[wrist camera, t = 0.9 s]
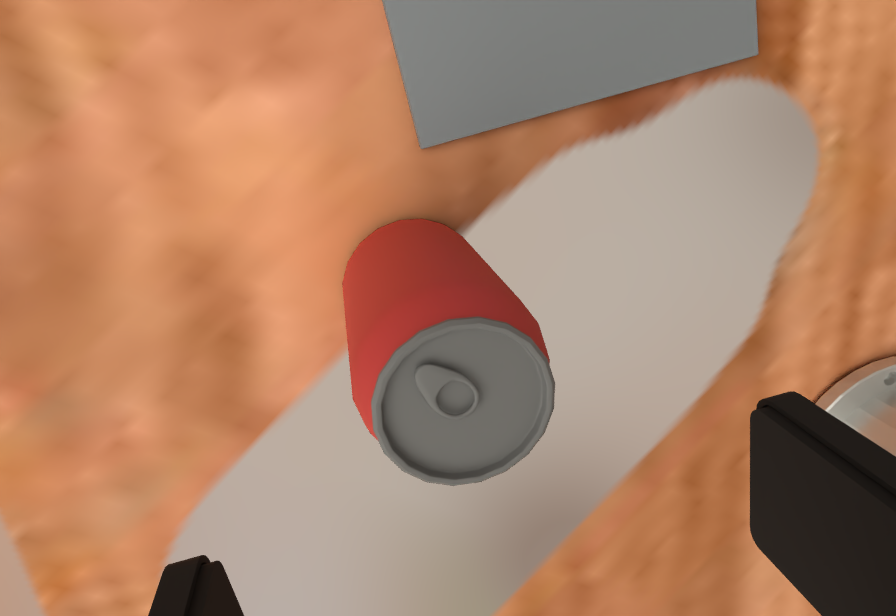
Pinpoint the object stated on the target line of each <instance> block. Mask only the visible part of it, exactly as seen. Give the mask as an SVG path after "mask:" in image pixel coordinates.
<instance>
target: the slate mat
mask: <svg viewBox="0 0 896 616" xmlns="http://www.w3.org/2000/svg"><path fill="white" fill-rule="evenodd" d="M382 2H383V6H384V10H385V14H386V18H387V21H388V25H389V29H390V33H391V37H392V41H393V45H394V49H395V52H396V56H397V60H398V64H399V68H400V72H401V76H402V80H403V84H404V87H405V91H406V95H407V99H408V103H409V107H410V111H411V115H412V118H413V122H414V126H415V130H416V134H417V138H418V142H419V146H420V148H421V149H424V148H427V147H431V146H434V145H438V144H441V143H445V142H449V141H452V140H456V139H459V138H463V137H466V136H470V135H474V134H477V133H481V132H484V131H488V130H491V129H495V128H498V127H502V126H506V125H509V124H513V123H516V122H520V121H523V120H527V119H531V118H534V117H538V116H541V115H545V114H548V113H552V112H556V111H559V110H563V109H566V108H570V107H573V106H577V105H580V104H584V103H588V102H591V101H595V100H598V99H602V98H605V97H609V96H613V95H616V94H620V93H623V92H627V91H630V90H634V89H638V88H641V87H645V86H648V85H652V84H655V83H659V82H662V81H666V80H670V79H673V78H677V77H680V76H684V75H687V74H691V73H695V72H698V71H702V70H705V69H709V68H712V67H716V66H720V65H723V64H727V63H730V62H734V61H737V60H741V59H744V58H748V57H752V56H755V55H758V36H757V13H756V0H382Z"/></svg>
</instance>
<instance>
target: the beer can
mask: <svg viewBox="0 0 896 616" xmlns="http://www.w3.org/2000/svg"><path fill="white" fill-rule="evenodd" d="M342 285H343V296H344V307H345V318H346V329H347V340H348V351H349V362H350V372H351V384H352V395H353V400H354V402H355V404H356V407H357V408H358V411H359V413H360V415H361V417H362V419H363V421H364V423H365V425H366V427H367V428H368V430H369V432H370V433H371V434H372V435H373V436H374V437H375V438H376V439H377V440H378V441H379V443H380V445H381V447H382V450H383V452H384V453H385V454H386V455H387V456H388V457H389V458H390V459H391V460H392V461H393V462H394V463H395V464H396V465H397V466H398V467H399V468H400V469H401V470H402V471H404V472H406V473H408V474H410V475H412V476H414V477H417V478H419V479H421V480H423V481H425V482H429V483H437V484H444V485H451V486H455V485H462V484H469V483H477V482H482V481H484V480H486V479H489V478H491V477H493V476H496V475H498V474H500V473H503V472H505V471H507V470H508V469H510V468H511V467H512V466H513V465H515V464H516V463H517V462H519V461H520V460H521V459H523V458H524V457H525V456H526V455H528V454H529V453H530V451H531V450H532V449H533V447H534V446H535V445H536V443H537V442H538V441H539V439H540V438H541V437H542V435H543V434H544V433H545V430H546V428H547V425H548V422H549V419H550V417H551V414H552V412H553V409H554V393H555V391H554V390H555V382H554V378H553V375H552V372H551V369H550V366H549V362H550V359H549V356H548V353H547V349H546V346H545V343H544V340H543V337H542V333H541V330H540V327H539V324H538V322H537V321H536V320H535V319H534V317H533V316H532V315H531V313H530V312H529V311H528V309H527V308H526V307H525V306H524V304H523V303H522V302H521V300H520V299H519V298H518V297H517V296H516V295H515V294H514V293H513V292H512V291H511V290H510V288H509V287H508V286H507V285H506V284H505V283H504V282H503V281H502V280H501V278H500V277H499V276H498V275H497V274H496V273H495V272H494V271H493V270H492V269H491V267H490V266H489V265H488V264H487V263H486V262H485V261H484V260H483V259H482V258H481V256H480V255H479V254H478V253H477V252H476V251H475V250H474V249H473V248H472V247H471V246H470V244H468V242H467V241H466V240H465V239H464V238H463V237H462V236H461V235H459V234H458V233H456V232H455V231H453V230H452V229H450V228H449V227H447V226H446V225H444V224H441V223H437V222H433V221H429V220H425V219H410V220H399V221H396V222H393V223H391V224H388V225H386V226H383V227H381V228H378V229H377V230H375V231H374V232H373V233H372V234H371V235H369V236H368V237H367V238H366V239H364V240H363V241H362V242H361V243H360V244H359V245H358V247H357V249H356V250H355V252H354V253H353V255H352V256H351V258H350V259H349V261H348V263H347V267H346V271H345V275H344V279H343V283H342Z"/></svg>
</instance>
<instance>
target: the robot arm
mask: <svg viewBox="0 0 896 616" xmlns="http://www.w3.org/2000/svg"><path fill="white" fill-rule="evenodd" d="M750 531H751V534H752V537H753V539H754V541H755V543H756V545H757V546H758V548H759V549H760V550H761V551H762V552H763V553H764V554H765V555H766V556H767V558H768V559H769V560H770V561H771V562H772V563H773V564H774V565H775V566H776V567H777V568H778V569H779V570H780V571H781V572H782V574H783V575H784V576H785V577H786V578H787V579H788V580H789V581H790V582H791V583H792V584H793V585H794V586H795V587H796V588H797V590H798V591H799V592H800V593H801V594H802V595H803V596H804V597H805V598H806V599H807V600H808V601H809V602H810V603H811V605H812V606H813V607H814V608H815V609H816V610H817V611H818V612H819V613H820V614H821V615H822V616H896V356H893V357H889V358H885V359H882V360H878V361H875V362H872V363H870V364H868V365H866V366H864V367H862V368H859V369H857V370H855V371H854V372H852V373H851V374H849V375H848V376H846V377H844V378H843V379H841V380H840V381H838V382H837V383H836V384H835V385H834V386H832V387H831V388H830V389H829V390H828V391H827V392H826V393H825V394H823V395H822V396H821V397H820V399H819V400H818V401H817V402H816V403H815V404H814V403H813V402H811V401H810V400H808V399H807V398H805V397H804V396H802V395H800V394H798V393H796V392H786V393H783V394H779V395H776V396H772V397H769V398H765V399H762V400H760V401H759V402H758V404H757V409H756V410H754V411H752V413H751V417H750ZM148 616H244V615H243V612H242V610H241V607H240V605H239V603H238V600H237V598H236V596H235V593H234V591H233V588H232V586H231V584H230V582H229V579H228V577H227V574H226V572H225V570H224V567H223V565H222V564H221V562H220V561H214V562H210V560H209V559H208V558H207V557H206V556H205V555H201V556H197V557H194V558H190V559H187V560H184V561H180V562H176V563H173V564H169V565H167V566H166V567H165V569H164V571H163V573H162V576H161V579H160V582H159V585H158V588H157V591H156V594H155V597H154V600H153V603H152V606H151V609H150V612H149V615H148Z"/></svg>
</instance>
